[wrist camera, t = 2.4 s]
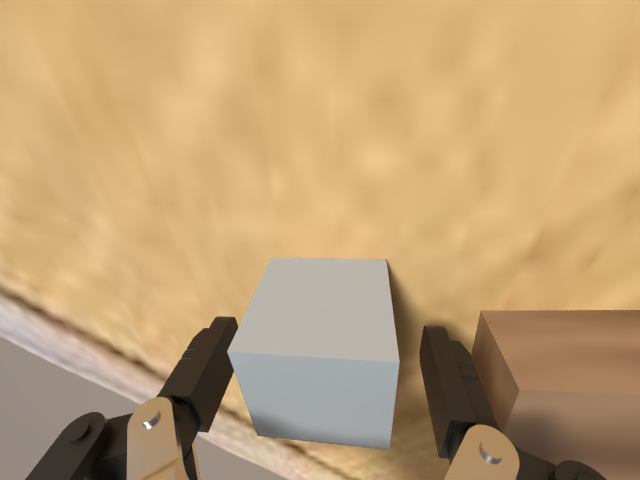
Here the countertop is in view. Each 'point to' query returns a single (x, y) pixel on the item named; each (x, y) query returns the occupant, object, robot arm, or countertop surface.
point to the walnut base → (565, 384)
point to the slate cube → (320, 352)
